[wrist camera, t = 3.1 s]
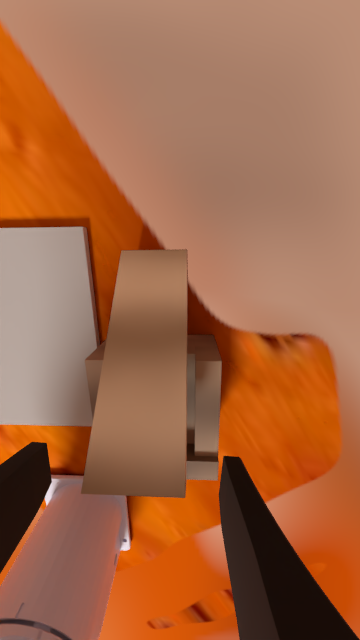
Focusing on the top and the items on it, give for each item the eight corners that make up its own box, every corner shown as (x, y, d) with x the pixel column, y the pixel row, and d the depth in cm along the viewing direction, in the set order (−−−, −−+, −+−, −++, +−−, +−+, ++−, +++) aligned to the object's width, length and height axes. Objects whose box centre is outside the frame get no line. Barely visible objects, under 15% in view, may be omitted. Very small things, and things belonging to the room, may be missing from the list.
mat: (108, 421, 20) (106, 426, 19) (0, 419, 20) (-6, 424, 20) (86, 227, 15) (82, 226, 15) (-51, 230, 16) (-60, 229, 15)
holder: (210, 425, 19) (217, 480, 15) (120, 423, 20) (97, 476, 15) (213, 334, 17) (222, 364, 12) (111, 334, 17) (81, 363, 13)
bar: (186, 479, 11) (185, 497, 8) (107, 476, 11) (80, 494, 9) (187, 278, 16) (187, 249, 13) (132, 279, 16) (121, 250, 14)
